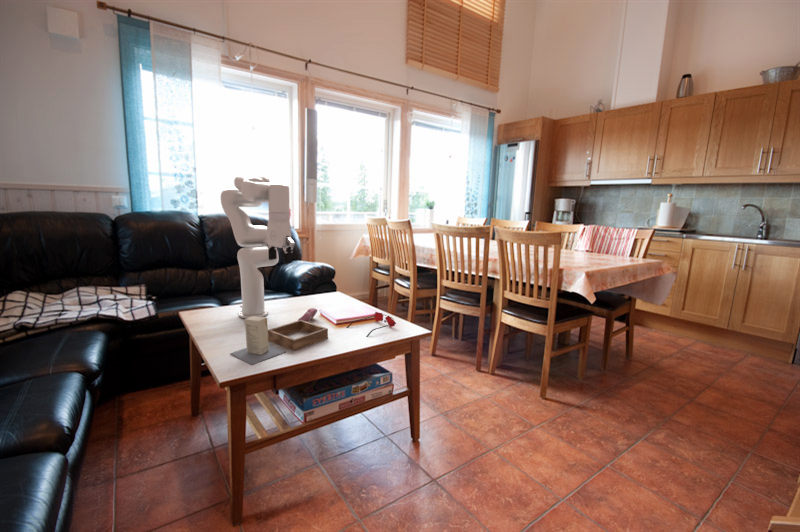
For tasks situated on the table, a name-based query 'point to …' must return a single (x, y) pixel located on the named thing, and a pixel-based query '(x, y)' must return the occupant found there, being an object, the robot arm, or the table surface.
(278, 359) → the table surface
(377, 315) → the glasses
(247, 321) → the skincare box
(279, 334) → the walnut box
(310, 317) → the pink animal figurine
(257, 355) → the grey mat
